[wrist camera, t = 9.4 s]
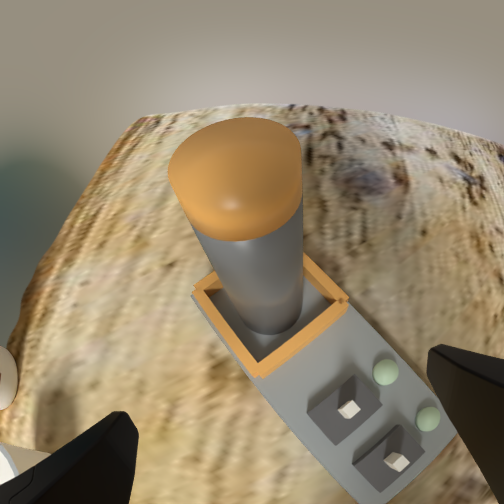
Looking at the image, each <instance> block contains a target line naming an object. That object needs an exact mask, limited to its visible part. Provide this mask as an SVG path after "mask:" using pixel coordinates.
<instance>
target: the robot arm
mask: <svg viewBox="0 0 504 504" xmlns="http://www.w3.org/2000/svg"><path fill="white" fill-rule="evenodd" d="M427 376H428V379H429V381H430V383H431V385H432V386H433V388H434V390H435V392H436V394H437V396H438V398H439V400H440V402H441V404H442V407H443V409H444V411H445V412H446V414H447V416H448V418H449V419H450V421H451V423H452V424H453V426H454V427H455V429H456V430H457V432H458V434H459V435H460V437H461V438H462V440H463V442H464V443H465V445H466V446H467V448H468V450H469V451H470V453H471V455H472V456H473V458H474V460H475V462H476V463H477V465H478V467H479V468H480V470H481V472H482V474H483V475H484V477H485V479H486V481H487V483H488V484H489V486H490V488H491V490H492V492H493V494H494V495H495V497H496V499H497V501H498V503H499V504H504V359H500V358H496V357H492V356H487V355H483V354H479V353H475V352H471V351H467V350H463V349H459V348H455V347H452V346H448V345H444V344H439V345H437V346H435V347H432V348H431V349H430V350H429V352H428V362H427ZM138 439H139V433H138V430H137V428H136V426H135V425H134V423H133V422H132V420H131V418H130V417H129V415H128V414H127V413H126V412H124V411H114V412H112V413H110V414H109V415H108V416H106V417H105V418H103V419H102V420H101V421H99V422H98V423H96V424H95V425H93V426H92V427H91V428H89V429H88V430H86V431H85V432H83V433H82V434H81V435H79V436H78V437H76V438H75V439H73V440H72V441H70V442H69V443H67V444H66V445H64V446H63V447H62V448H60V449H59V450H57V451H56V452H54V453H53V454H51V455H50V456H48V457H46V458H45V459H43V460H42V461H40V462H39V463H37V464H36V465H35V466H32V467H31V468H29V469H28V470H26V471H25V472H23V473H21V474H20V475H18V476H16V477H14V478H12V479H11V480H9V481H7V482H5V483H3V484H1V485H0V504H129V500H130V495H131V490H132V486H133V481H134V475H135V467H136V457H137V448H138Z"/></svg>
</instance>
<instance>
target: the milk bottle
mask: <svg viewBox="0 0 504 504" xmlns="http://www.w3.org/2000/svg"><path fill="white" fill-rule="evenodd" d="M17 384H18V373H17V367H16V363H15V360H14V358H13V356H12V355H11V353H10V352H9V351H8V350H7V349H6V348H4V347H2V346H0V410H2V409H5V408H7V407H9V406H10V405H11V404H12V402H13V400H14V398H15V395H16V391H17Z"/></svg>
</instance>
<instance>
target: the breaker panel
mask: <svg viewBox="0 0 504 504" xmlns="http://www.w3.org/2000/svg"><path fill="white" fill-rule="evenodd" d="M193 286H194V287H195V290H194V291H193V292H192V295H191V298H192V299H193V301H194V302H195V304H196V305H197V307H198V308H199V309H200V311H201V312H202V314H203V315H204V317H205V318H206V320H207V321H208V322H209V324H210V325H211V327H212V328H213V330H214V331H215V332H216V334H217V335H218V337H219V338H220V339H221V341H222V342H223V344H224V345H225V346H226V348H227V349H228V350H229V352H230V353H231V355H232V356H233V357H234V359H235V360H236V361H237V363H238V364H239V365H240V367H241V368H242V369H243V371H244V372H245V373H246V375H247V376H248V377H249V378H250V380H251V381H252V382H253V384H254V385H255V386H256V387H257V389H258V390H259V391H260V393H261V394H262V395H263V396H264V398H265V399H266V400H267V401H268V403H269V404H270V405H271V406H272V408H273V409H274V410H275V411H276V413H277V414H278V415H279V416H280V417H281V419H282V420H283V421H284V422H285V423H286V425H287V426H288V427H289V428H290V429H291V431H292V432H293V433H294V434H295V435H296V436H297V438H298V439H299V440H300V441H301V442H302V443H303V445H304V446H305V447H306V448H307V449H308V450H309V451H310V452H311V454H312V455H313V456H314V457H315V458H316V459H317V460H318V461H319V463H320V464H321V465H322V466H323V467H324V468H325V469H326V470H327V471H328V472H329V473H330V474H331V476H332V477H333V478H334V479H335V480H336V481H337V482H338V483H339V484H340V485H341V486H342V487H343V488H344V489H345V490H346V491H347V492H348V493H349V494H350V495H351V496H352V497H353V498H354V499H355V500H356V501H357V502H358V503H359V504H386V503H387V502H389V501H390V500H391V499H392V498H393V497H395V496H396V495H397V494H398V493H399V492H400V491H401V490H403V489H404V488H405V487H406V486H407V485H408V484H409V483H410V482H411V481H412V480H414V479H415V478H416V477H417V476H418V475H419V474H420V473H421V472H422V471H423V470H424V469H425V468H426V467H427V466H428V465H429V464H430V463H431V462H432V461H433V460H434V459H435V458H436V456H437V455H438V454H439V453H440V452H441V451H442V450H443V449H444V448H445V447H446V445H447V444H448V443H449V442H450V441H451V440H452V439H453V437H454V436H455V435H456V434H457V433H458V432H457V430H456V429H455V427H454V426H453V424H452V423H451V421H450V419H449V418H448V416H447V414H446V412H445V411H444V409H443V407H442V404H441V402H440V400H439V399H438V398H437V396H436V395H435V394H434V393H433V392H432V391H431V390H430V389H429V388H428V386H427V385H426V384H425V383H424V382H423V381H422V380H421V379H420V378H419V376H418V375H417V374H416V373H415V372H414V371H413V370H412V369H411V368H410V367H409V366H408V364H407V363H406V362H405V361H404V360H403V359H402V358H401V357H400V356H399V355H398V354H397V353H396V352H395V350H394V349H393V348H392V347H391V346H390V345H389V344H388V343H387V342H386V341H385V340H384V339H383V338H382V337H381V336H380V335H379V333H378V332H377V331H376V330H375V329H374V328H373V327H372V326H371V325H370V324H369V323H368V322H367V321H366V320H365V319H364V318H363V317H362V316H361V315H360V314H359V313H358V312H357V311H356V309H355V308H354V307H353V306H352V305H351V304H350V303H349V302H348V299H349V297H348V296H347V295H346V294H345V293H344V292H343V291H342V290H341V289H340V288H339V287H338V286H337V285H336V284H335V283H334V282H333V281H332V280H331V279H330V278H329V277H328V276H327V275H326V274H325V273H324V272H323V271H322V270H321V269H320V268H319V267H318V266H317V265H316V264H315V263H314V262H313V261H312V260H311V259H310V258H309V257H308V256H307V255H306V254H305V253H304V252H303V305H302V312H301V315H300V317H299V319H298V320H297V322H296V323H295V324H294V325H293V326H292V327H291V328H290V329H288V330H287V331H285V332H283V333H280V334H276V335H262V334H258V333H256V332H254V331H252V330H250V329H249V328H248V327H247V326H246V325H245V324H244V323H243V321H242V320H241V318H240V316H239V314H238V312H237V311H236V309H235V307H234V305H233V303H232V302H231V300H230V298H229V296H228V294H227V292H226V291H225V289H224V287H223V285H222V283H221V281H220V279H219V278H218V276H217V274H216V272H215V271H213V272H212V273H210V274H209V275H207V276H206V277H205V278H203V279H202V280H200V281H199V282H197V283H196V284H195V285H193Z"/></svg>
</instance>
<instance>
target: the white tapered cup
mask: <svg viewBox="0 0 504 504" xmlns="http://www.w3.org/2000/svg"><path fill="white" fill-rule="evenodd" d="M50 455H51V454H50V453H47V452H41V451H36V450H31V449H26V448H22V447H18V446H14V445H10V444H6V443H2V442H0V485H1V484H3V483H5V482H7V481H9V480H11V479H12V478H14V477H16V476H18V475H20V474H21V473H23V472H25V471H26V470H28V469H29V468H31V467H32V466H35V465H36V464H37V463H39V462H40V461H42V460H43V459H45V458H46V457H48V456H50Z"/></svg>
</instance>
